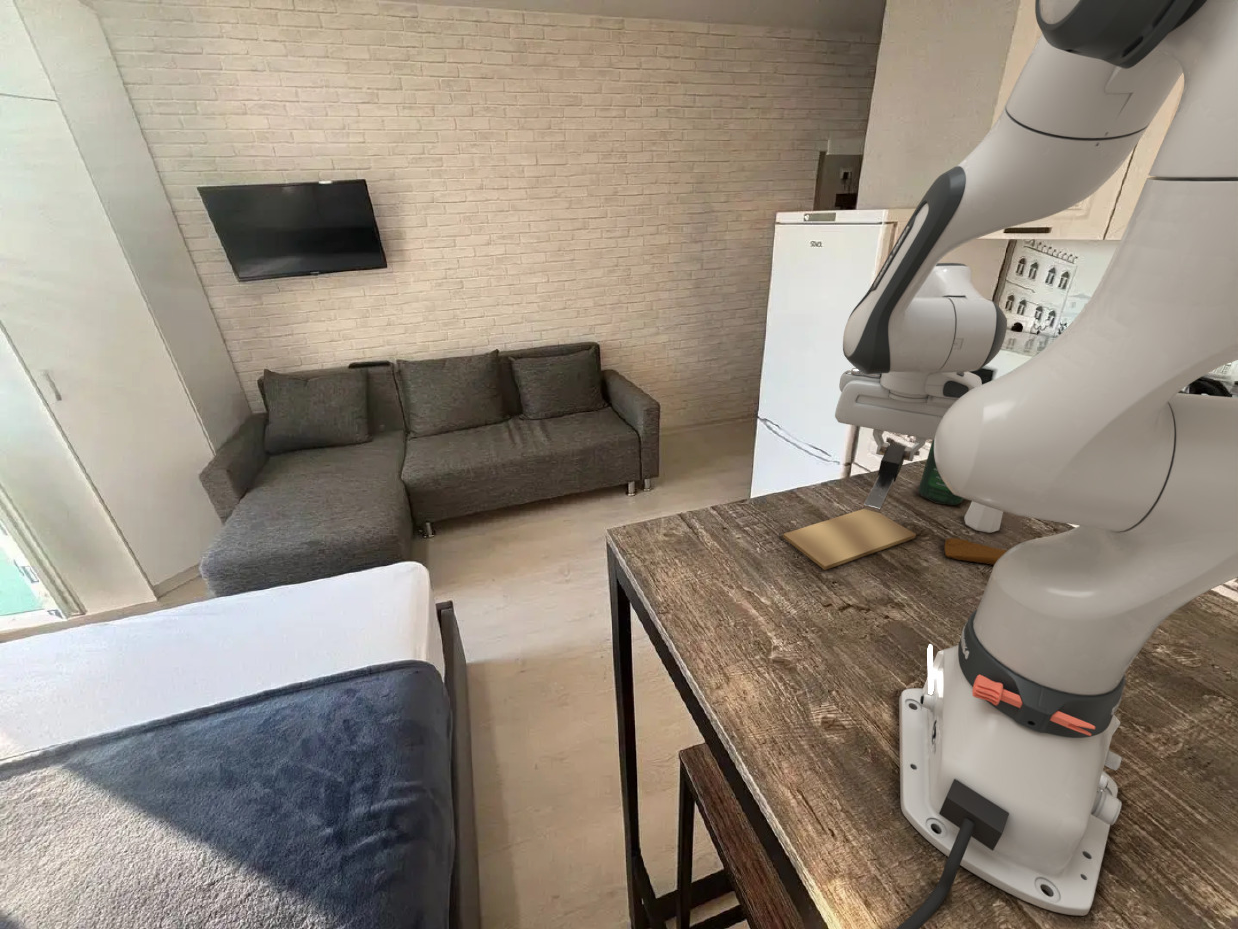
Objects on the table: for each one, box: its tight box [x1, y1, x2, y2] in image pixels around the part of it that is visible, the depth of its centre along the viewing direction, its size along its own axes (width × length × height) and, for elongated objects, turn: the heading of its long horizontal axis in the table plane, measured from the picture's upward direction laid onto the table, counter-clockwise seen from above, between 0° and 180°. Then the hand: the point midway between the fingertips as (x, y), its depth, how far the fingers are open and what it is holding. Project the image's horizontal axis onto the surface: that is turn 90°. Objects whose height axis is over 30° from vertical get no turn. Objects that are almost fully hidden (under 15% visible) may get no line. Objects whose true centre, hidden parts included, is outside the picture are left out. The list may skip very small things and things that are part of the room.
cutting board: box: [782, 508, 917, 571], centre depth 88 cm, size 20×10×1 cm, turn 113°
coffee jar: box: [917, 440, 966, 506], centre depth 96 cm, size 10×8×19 cm
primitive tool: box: [944, 537, 1008, 566], centre depth 79 cm, size 19×6×4 cm, turn 61°
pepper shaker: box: [963, 501, 1004, 534], centre depth 88 cm, size 5×5×11 cm
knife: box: [862, 443, 907, 513], centre depth 79 cm, size 18×3×3 cm, turn 145°
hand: (894, 456), depth 84 cm, fingers closed on knife, 2 cm apart
